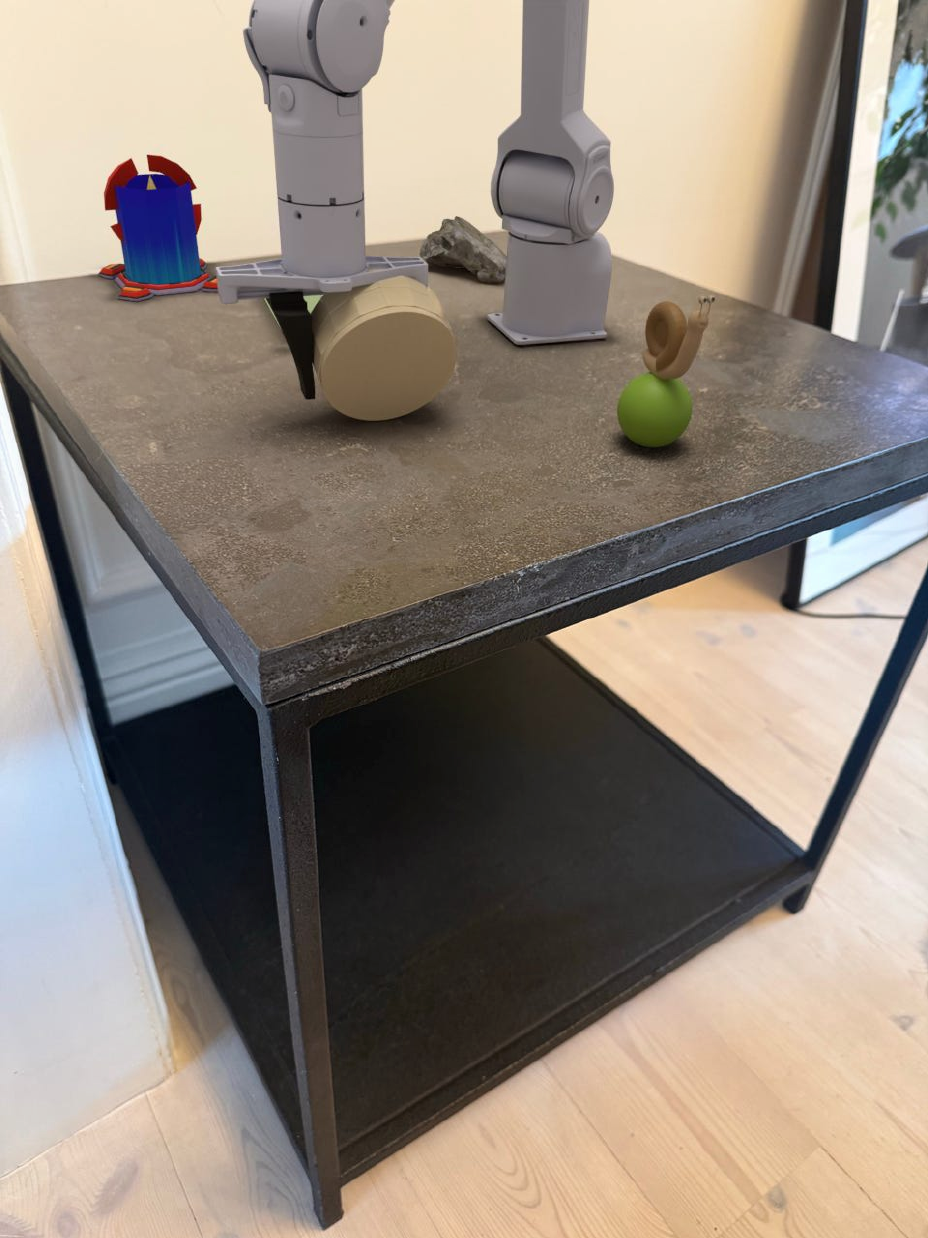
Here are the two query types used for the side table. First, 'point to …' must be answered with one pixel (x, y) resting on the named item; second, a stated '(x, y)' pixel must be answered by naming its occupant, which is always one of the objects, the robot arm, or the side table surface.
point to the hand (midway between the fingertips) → (330, 392)
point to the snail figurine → (663, 376)
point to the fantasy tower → (155, 231)
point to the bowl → (382, 348)
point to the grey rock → (465, 250)
